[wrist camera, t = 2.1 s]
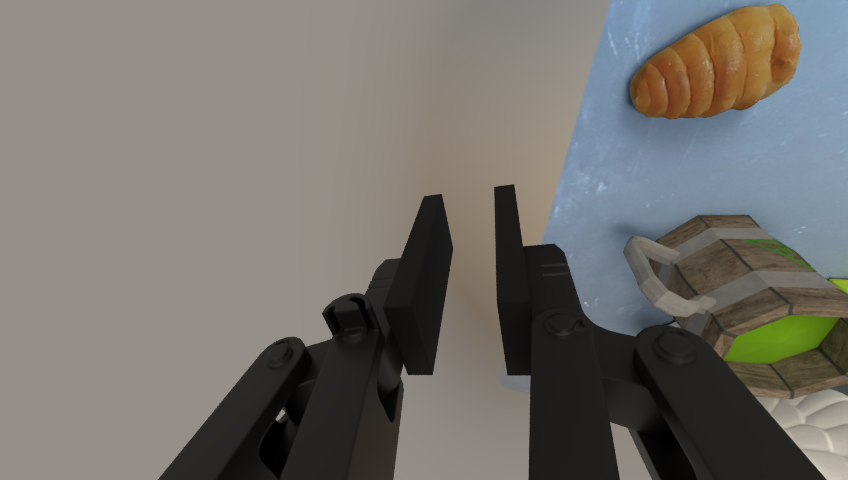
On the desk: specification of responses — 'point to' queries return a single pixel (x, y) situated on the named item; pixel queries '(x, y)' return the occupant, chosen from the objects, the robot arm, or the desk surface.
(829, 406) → the cherub figurine
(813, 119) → the desk surface
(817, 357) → the mug
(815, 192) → the desk surface
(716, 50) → the pastry
